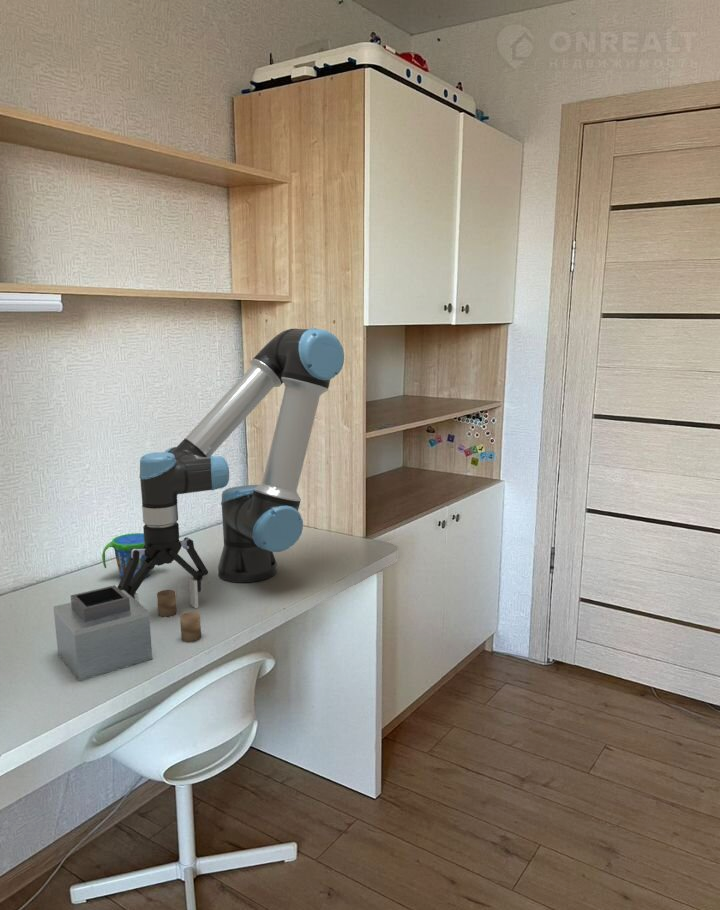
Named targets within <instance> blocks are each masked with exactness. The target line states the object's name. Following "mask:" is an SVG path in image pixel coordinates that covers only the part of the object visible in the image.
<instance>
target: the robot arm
mask: <svg viewBox="0 0 720 910" xmlns="http://www.w3.org/2000/svg"><path fill="white" fill-rule="evenodd" d="M250 362H251V363H250V365H251V366H250V368H249V369H248V370H247V371H246V372H245V373H244V374H243V375H242V376H241V377H240V378H239V379H238V381H236V382H235V384H234V385H233V386H232V387H231V388H230V389H229V390H228V392H226V393H225V395H224V396H223V397H222V398H221V399H220V400H219V401H218V402H217V403H216V404H215V405H214V407H213V408H212V409H210V410H209V412H208V413H207V414H206V415H205V416H204V417H203V418H202V420H200V422H199V423H198V424H197V425H196V426H195V427H194V428H193V429H192V430H191V431H190V433H188V435H187V436H186V437H185V438H184V439H183V440H182V441H181V442H180V443H179V444H178V445H176V446H171V447H170V448H167V449H165V451H162V452H161V451H160V452H150V453H146V454H143V455H142V456H141V457H140V459H139V480H140V481H139V482H140V492H141V504H142V505H141V507H142V508H141V509H142V522H143V524H144V525H143V533H144V543H145V545H144V548H143V549H135V548H131V550H130V559H129V561H128V563H127V566H126V568H125V571H124V573H123V575H122V578H121V577H120V578H121V579H120V581H119V583H118V585H117V588H118V589H119V590H120V591H121V590H125V591H126V592H127V593H128V594H129V595H130V596H132V597H133V598H134V599H135V600H136V601H138V602H139V603H140V600H139V594H138V593H137V591H138V590H139V588H140V586H141V585H142V584H143V582H144V580H145V579H146V578H147V577H148V576H149V575H148V573H149V572H150V570H151V571H152V570H153V569H155V567H156V566H159V567H160V566H163V565H165V564H168V565H169V564H172V562H173V561H175V562H176V563H177V564H178V565H179V566H181V568H182V569H184V570H185V571H187V573H189V575H190V576H192V577H189V578H188V584H189V605H190V606H192V608H194V609H198V608H199V594H198V593H201V591H202V582H201V581H202V580H204V579H203V578H204V576H207V575H209V571H208V568H207V567H206V566H205V564H204V562H203V560H202V559H201V557H200V555H199V554H198V551H196V549H195V544H194V541H193V540H192V539H191V538H189V537H187V536H186V537H185V538H183V539H182V540H180V528H179V527H180V526H179V522H178V520H179V510H178V495H185V494H190V493H191V494H193V493H198V492H208V491H215V490H218V489H219V490H220V489H223V488H225V489H224V490H223V491H222V493H221V503H220V505H221V515H222V516H221V517H222V531H223V532H222V533H223V547H222V550H221V551H222V552H221V555H220V558H219V563H218V566H217V572H218V577H219V578H220V579H222V580H224V581H227V582H230V583H231V582H232V583H253V582H254V583H255V582H259V581H264V580H267V579H269V578H271V577H273V576H275V575H276V574H277V571H278V567H277V565H278V564H277V561H276V558H275V555H274V553H280V552H284V551H287V550H288V549H289V548H291V547H293V546H294V545H295V544H296V543H297V541H298V540H299V539H300V537H301V536H302V533H303V529H304V521H303V518H302V515H301V513H300V512H299V511H300V510H299V509H300V505H301V500H302V499H301V497H300V495H299V493H298V491H297V490H298V486H299V482H300V478H301V475H302V470H303V466H304V463H305V457H306V454H307V449H308V446H309V442H310V438H311V433H312V430H313V426H314V422H315V417H316V414H317V409H318V406H319V402H320V398H321V396H322V395H323V394H324V393H326V392H328V390H329V386H330V383H331V380H332V379H334V378H335V377H336V376H338V375H339V374H340V373H341V370H342V369H343V367H344V362H345V351H344V348H343V346H342V344H341V342H340V340H339V339H338V337H337V336H336V335H335V334H333V333H332V332H330V331H328V330H326V329H325V330H324V329H320V328H313V327H312V328H289V329H285V330H284V331H281V332H280V333H278V334H276V336H274V337H273V338H272V339H271V340H270V341H268V343H266V345H264V347H263V348H262V349H260V351H259V352H257V354H256V355H255V356H254V357H253V358H252V359H251V361H250ZM281 385H284V391H283V396H282V400H281V404H280V407H279V412H278V417H277V421H276V425H275V429H274V432H273V437H272V440H271V441H272V442H271V444H270V450H269V453H268V456H267V457H268V458H267V462H266V466H265V469H264V473H263V478H262V482H261V483H260V484H246V485H240V486H232V487H230V488H229V487H228V488H227V489H226V486H227V485H228V484H229V481H230V470H229V469H230V468H229V464H228V462H227V460H226V458H225V457H223V456H222V455H221V456H220V455H216V456H214V455H213V454H214V453H215V452H216V451H217V450H218V449H219V447H221V445H222V444H223V443H224V442H225V441H226V440H227V439H228V437H230V436H231V435H232V433H233V432H234V431H235V430H236V429H237V428H238V427H239V426H240V425H241V423H242V422H243V421H244V420H245V419H246V418H247V417H248V416H249V415H250V414H251V413H252V411H254V409H255V408H257V406H258V405H259V404H260V403H261V402H262V401H263V399H264V398H265V397H266V396H267V395H268V394H269V393H270V392H271V390H273V388H278V387H281ZM182 548H183V549H185V550H186V553H188V556H189V557H190V558H191V560H192V562H193V564H194V566H196V568H197V570H196V569H194V567H192V566H191V565H190V564H189V563H188V562H187V561H186V560H185V559H184V558H183V557H182V556H180V554H179V552H180V550H181V549H182ZM143 554H144V555H145V556H146V558H145V560H144V561H143V564H142V566H141V567H140V569H139V570H138V572H137V573H136V575H135V576H134V577H133V575H134V573H135V570H136V568H137V565H138V562H139V559H141V557H142V555H143ZM150 561H151V562H150ZM150 573H151V572H150ZM147 575H148V576H147ZM146 576H147V577H146ZM132 577H133V579H132Z"/></svg>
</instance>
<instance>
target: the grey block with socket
mask: <svg viewBox="0 0 720 910" xmlns="http://www.w3.org/2000/svg"><path fill="white" fill-rule="evenodd" d="M53 614H54V615H53V616H54V625H55V634H56V644H57V654H58V656H59V657H60V656H61V657H60V659H62V661H63V660H64V661H63V662H64V664H65V665H66V666H67V668H68V669H69V670H70V671H71V673H72V674H73V675H74V677H75V678H76V679H77V681H79V682H81V681H84V680H88V679H91V678H94V677H98V676H100V675H104V673H105V674H108V673H111V672H113V670H114V671H116V670H117V669H118V670H121V669H124V668H127V667H126V666H128V667H130V666H134V665H137V664H136V663H138V664H141V663H143V661H144V662H147V661H150V659H151V660H153V649H152V637H151V633H152V632H151V622H150V621H151V620H150V611H149V609H147V608H146V607H145V606H144V605H142V604H141V603H140V601H139V602H138V601H136V600H135V599H134V598H133V597H132V596H130V595H129V594H128V593H127V592H126V591H125V590H121V591H120V590H119V589H118V586H116V585H114V584H113V585H109V586H106V587H101V588H97V589H93V590H88V591H83V592H80V593H75V594H72V595H70V602H67V603H63V604H59V605H55V606H53ZM140 662H141V663H140ZM129 665H130V666H129ZM123 667H124V668H123ZM120 668H121V669H120Z"/></svg>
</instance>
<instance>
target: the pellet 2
mask: <svg viewBox="0 0 720 910" xmlns="http://www.w3.org/2000/svg"><path fill="white" fill-rule="evenodd" d="M179 620H180V634H181V635H180V637H181V641H182V642H184V643H196V642H197V641H200V640H201V639H202V629H201V627H202V626H201V614H200V612H197V611H186V612H184V613H182V614H180V616H179Z"/></svg>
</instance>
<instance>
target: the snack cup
mask: <svg viewBox="0 0 720 910" xmlns="http://www.w3.org/2000/svg"><path fill="white" fill-rule="evenodd" d="M144 545H145V543H144V532H143V533H142V532H138V533H137V532H136V533H135V532H133V533H126V534H121V535H118V536H116V537H114V538H112V540H111V542H109V543H107V544H106V545H105V546H104V548H103V550H102V554H101V558H102V564H103V567H104V568H105V569H107V564H106V551H107V550H109V548H113V550H114V555H115V559H116V565H117V568H118V572H119V575H120V578H122V575H123V573H124V571H125V568H126V566H127V563H128V561H129V559H130V550H131V548H135V549H143V548H144ZM145 558H146V556H145V555H144V554H143V555H142V557H141V559H139V562H138V565H137V568H136V570H135V573H134V575H133V577H134V576H135V575H136V573H137V572H138V570H139V569H140V567H141V566H142V564H143V561H144V560H145ZM150 562H151V561H150ZM151 572H152V570H150V572H149V573H148V575H147V576H146V578H147V577H149V575H150V574H151ZM133 577H132V579H133Z"/></svg>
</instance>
